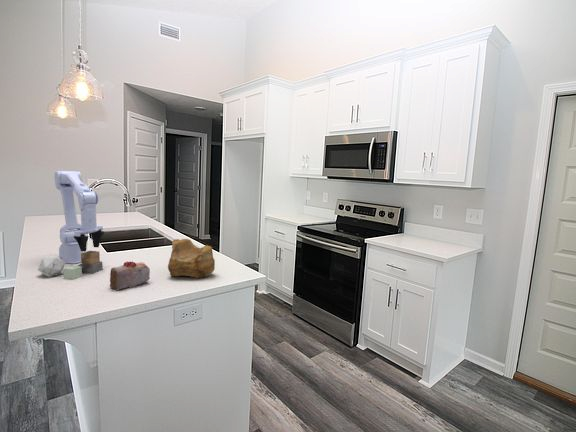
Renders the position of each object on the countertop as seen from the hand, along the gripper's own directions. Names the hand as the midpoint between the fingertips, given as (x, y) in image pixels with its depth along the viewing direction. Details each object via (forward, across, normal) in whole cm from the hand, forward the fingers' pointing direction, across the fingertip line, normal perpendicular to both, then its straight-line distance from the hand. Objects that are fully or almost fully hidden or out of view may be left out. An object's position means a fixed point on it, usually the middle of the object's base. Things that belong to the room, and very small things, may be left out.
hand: (90, 249), depth 144 cm
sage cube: (+10, -9, +1) cm, 14 cm away
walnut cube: (+6, 0, 0) cm, 6 cm away
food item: (+10, -11, -27) cm, 31 cm away
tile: (+10, +4, +8) cm, 14 cm away
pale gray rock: (+10, -8, +11) cm, 18 cm away
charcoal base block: (+10, 0, 0) cm, 11 cm away
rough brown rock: (+10, +7, -42) cm, 44 cm away
